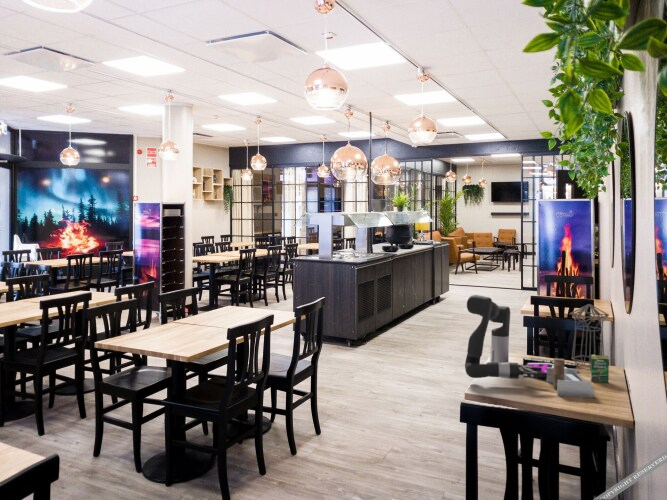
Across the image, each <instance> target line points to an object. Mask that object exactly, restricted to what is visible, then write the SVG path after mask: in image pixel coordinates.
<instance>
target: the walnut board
mask: <svg viewBox="0 0 667 500" xmlns="http://www.w3.org/2000/svg"><path fill="white" fill-rule="evenodd" d="M553 360H554V378H553V382H552V387H553V389H554V390H557V380H564V363H565V362H566V361H565V359H564V358H555V357H554V358H553Z"/></svg>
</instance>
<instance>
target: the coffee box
mask: <svg viewBox="0 0 667 500" xmlns="http://www.w3.org/2000/svg"><path fill="white" fill-rule="evenodd" d="M590 357H591V358H590V362H591V364H590V365H591V370H590V382H595V383H604V384H606V383H607V384H608V383H609V379H610V376H609V374H610V373H609V371H610V370H609V367H610V366H609V365H610V363H609V359H610V358H609V355H604V356H603V355H602V356H601V354H599V355H598V354H597V355H596V354H595V355H594V354H591V355H590Z"/></svg>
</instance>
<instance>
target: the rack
mask: <svg viewBox="0 0 667 500" xmlns="http://www.w3.org/2000/svg"><path fill="white" fill-rule="evenodd" d="M565 374H572V375H573V376H575V377H576V378H577V379H579V380H580V381H573V380H565ZM553 378H554V368H550V367H547V372H546V380H545V381H546V383H553ZM556 396H558V397H570V398H571V397H573V398H588V399H594V398H595V388H594V387H593V386H592V381H591V380H589V381H588V380H586V379H584V378H583V377H582V376H581V374H578V368H577V369H570V368H564V380H557V389H556Z"/></svg>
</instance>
